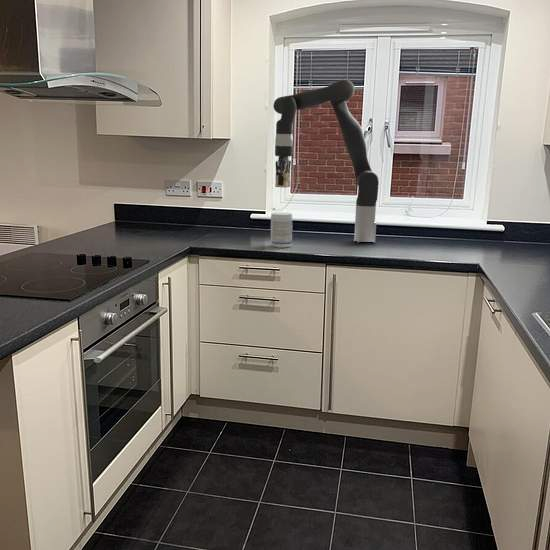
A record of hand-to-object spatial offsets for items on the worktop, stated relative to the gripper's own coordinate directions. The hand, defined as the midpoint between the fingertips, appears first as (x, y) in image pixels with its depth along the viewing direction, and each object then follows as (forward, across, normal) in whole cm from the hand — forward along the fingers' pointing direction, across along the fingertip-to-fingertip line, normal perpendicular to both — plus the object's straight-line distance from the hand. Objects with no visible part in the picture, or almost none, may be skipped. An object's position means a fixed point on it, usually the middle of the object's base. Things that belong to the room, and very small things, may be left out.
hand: (282, 184), depth 255 cm
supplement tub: (+27, 0, 0) cm, 27 cm away
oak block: (+1, 0, 0) cm, 1 cm away
